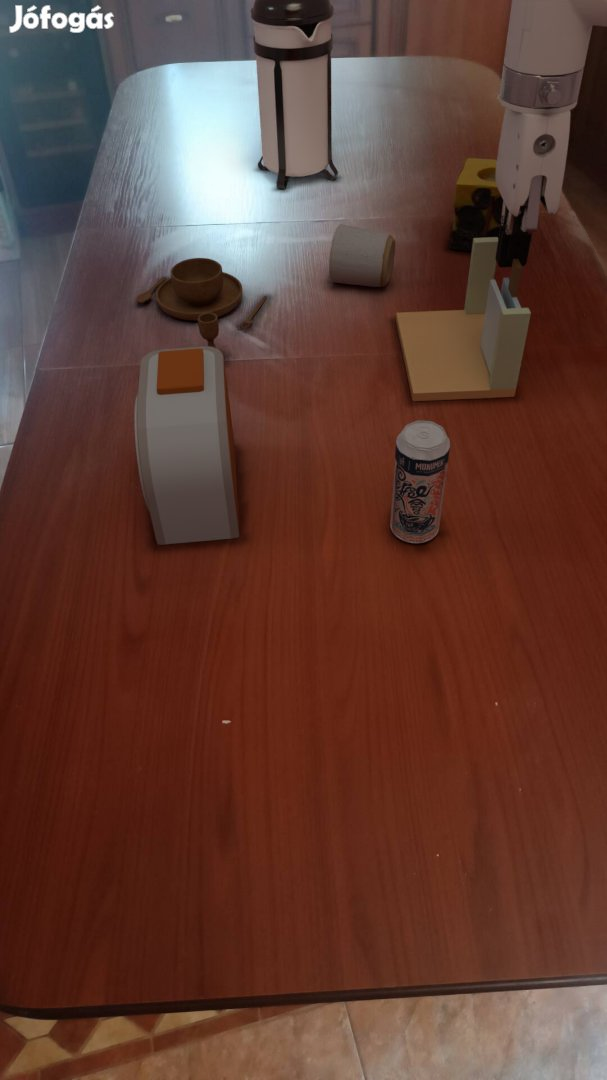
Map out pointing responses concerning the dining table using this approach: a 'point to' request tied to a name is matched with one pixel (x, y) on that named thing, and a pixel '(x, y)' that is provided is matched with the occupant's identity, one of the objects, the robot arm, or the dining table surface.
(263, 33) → the coffee press
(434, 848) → the dining table surface
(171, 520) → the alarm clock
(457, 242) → the yellow cube with holes
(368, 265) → the grey cylinder
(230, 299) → the place setting
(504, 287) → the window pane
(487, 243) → the bookend with square base
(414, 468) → the beer can
